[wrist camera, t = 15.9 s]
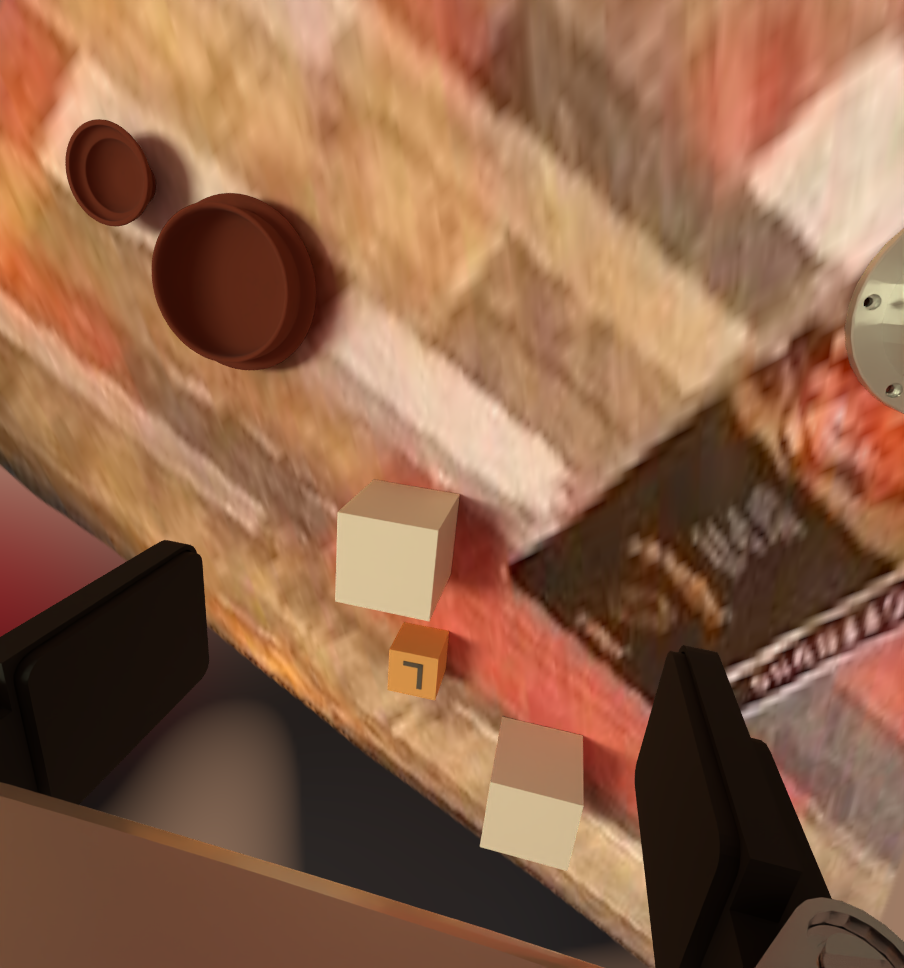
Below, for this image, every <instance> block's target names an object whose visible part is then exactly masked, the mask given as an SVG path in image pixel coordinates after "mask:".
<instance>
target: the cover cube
mask: <svg viewBox="0 0 904 968" xmlns="http://www.w3.org/2000/svg"><path fill="white" fill-rule="evenodd" d="M459 496H460V494H456V493H450V492H444V491H438V490H432V489H426V488H420V487H415V486H409V485H403V484H397V483H391V482H385V481H379V480H374V479H373V480H372V481H371V482H370V483H369V484H368V485H367V486H366V487H365V488H364V489H362V490H361V491H360V492H359V493H358V494H357V495H356V496H355V497H354V498H353V499H352V500H350V501H349V502H348V503H347V504H346V505H345V506H344V507H343V508H342V509H341V510H339V511H338V519H337V556H336V592H335V601H336V602H341V603H345V604H350V605H355V606H360V607H364V608H369V609H374V610H378V611H383V612H388V613H392V614H397V615H402V616H407V617H411V618H416V619H421V620H425V621H430V619H431V617H432V615H433V612H434V610H435V608H436V606H437V603H438V601H439V599H440V597H441V595H442V592H443V590H444V588H445V586H446V584H447V581H448V579H449V577H450V575H451V569H452V560H453V551H454V542H455V532H456V523H457V514H458V505H459Z"/></svg>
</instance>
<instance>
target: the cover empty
mask: <svg viewBox="0 0 904 968" xmlns="http://www.w3.org/2000/svg"><path fill="white" fill-rule="evenodd" d="M583 806H584V797H583V735H578V734H574V733H570V732H566V731H561V730H557V729H553V728H549V727H545V726H540V725H536V724H532V723H528V722H523V721H519V720H515V719H511V718H507V717H502V721H501V726H500V732H499V737H498V743H497V748H496V754H495V759H494V765H493V770H492V776H491V782H490V788H489V794H488V800H487V806H486V812H485V818H484V825H483V831H482V837H481V844H480V847H483V848H486V849H490V850H494V851H497V852H501V853H504V854H508V855H511V856H515V857H519V858H522V859H526V860H529V861H533V862H537V863H540V864H544V865H547V866H551V867H555V868H558V869H562V870H565V871H568V867H569V863H570V859H571V855H572V851H573V847H574V843H575V839H576V835H577V831H578V827H579V823H580V818H581V814H582V810H583Z"/></svg>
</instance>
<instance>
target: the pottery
mask: <svg viewBox="0 0 904 968" xmlns="http://www.w3.org/2000/svg"><path fill="white" fill-rule="evenodd" d="M66 173H67V178H68V182H69V185H70V188H71V191H72V193H73V195H74V197H75V199H76V200H77V202H78V203H79V205H80V206H81V207H82V209H83V210H84V211H85V212H86V213H87V214H88V215H89V216H90V217H92V218H93V219H95V220H96V221H98V222H100V223H102V224H105V225H109V226H122V225H126V224H128V223H130V222H132V221H134V220H135V219H137V218H138V217H139V216H140V215H141V214H142V213H143V211H144V210H145V208H146V207H147V205H148V202H150V201H151V200H152V198H153V196H154V194H155V190H156V182H155V177H154V174H153V172H152V170H151V169H150V167H149V165H148V162H147V159H146V157H145V155H144V153H143V151H142V149H141V148H140V146H139V145H138V143H137V142H136V141H135V140H134V139H133V137H132V136H131V135H130V134H129V133H128V132H127V131H126V130H124V129H123V128H122V127H120V126H119V125H117V124H115V123H113V122H110V121H107V120H100V119H98V120H91V121H88V122H86V123H84V124H82V125H81V126H80V127H79V128H78V129H77V130H76V131H75V132H74V134H73V135H72V137H71V139H70V141H69V144H68V147H67V152H66ZM152 282H153V289H154V293H155V297H156V300H157V303H158V306H159V308H160V311H161V313H162V315H163V317H164V319H165V320H166V322H167V324H168V325H169V327H170V328H171V330H172V331H173V332H174V333H175V335H176V336H177V337H178V338H179V339H180V340H181V341H182V342H183V343H184V344H185V345H186V346H188V347H189V348H190V349H192V350H193V351H195V352H196V353H198V354H200V355H202V356H204V357H206V358H208V359H211V360H214V361H217V362H219V363H221V364H223V365H226V366H228V367H232V368H235V369H241V370H260V369H265V368H269V367H272V366H274V365H276V364H278V363H280V362H282V361H284V360H285V359H287V358H288V357H289V356H290V355H291V354H293V353H294V352H295V350H296V349H297V348H298V347H299V346H300V344H301V343H302V342H303V340H304V338H305V337H306V335H307V333H308V331H309V328H310V326H311V323H312V320H313V316H314V311H315V304H316V283H315V276H314V271H313V267H312V263H311V260H310V257H309V255H308V252H307V250H306V248H305V245H304V244H303V242H302V240H301V238H300V237H299V235H298V233H297V232H296V231H295V229H294V228H293V227H292V225H291V224H290V223H289V222H288V221H287V220H286V219H285V218H284V217H283V216H282V215H281V214H280V213H279V212H278V211H276V210H275V209H274V208H272V207H271V206H269V205H268V204H266V203H264V202H262V201H260V200H258V199H256V198H253V197H250V196H247V195H242V194H235V193H225V194H218V195H213V196H210V197H207V198H205V199H203V200H201V201H199V202H197V203H195V204H192V205H189V206H187V207H185V208H183V209H181V210H180V211H179V212H177V213H176V214H175V215H174V216H172V217H171V218H170V220H169V221H168V222H167V223H166V224H165V226H164V227H163V229H162V231H161V232H160V234H159V237H158V239H157V242H156V245H155V248H154V252H153V258H152Z"/></svg>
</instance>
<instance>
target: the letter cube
mask: <svg viewBox="0 0 904 968" xmlns="http://www.w3.org/2000/svg"><path fill="white" fill-rule="evenodd" d="M448 638H449V631H447V630H442V629H437V628H432V627H426V626H421V625H416V624H411V623H406V622H404V623H403V625H402V627H401V629H400V630H399V632H398V634H397V636H396V638H395V640H394V642H393V644H392V646H391V647H390V650H389V672H388V690H390V691H395V692H399V693H404V694H408V695H413V696H418V697H422V698H427V699H431V700H435V699H436V696H437V693H438V690H439V687H440V685H441V682H442V679H443V676H444V673H445V670H446V661H447V650H448Z"/></svg>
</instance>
